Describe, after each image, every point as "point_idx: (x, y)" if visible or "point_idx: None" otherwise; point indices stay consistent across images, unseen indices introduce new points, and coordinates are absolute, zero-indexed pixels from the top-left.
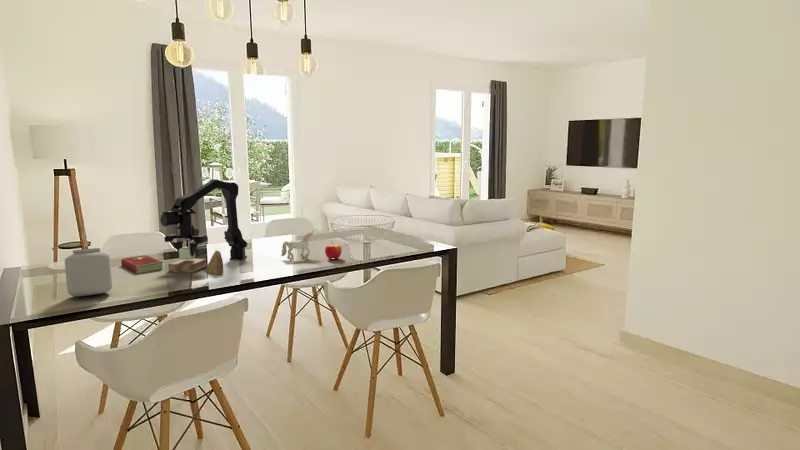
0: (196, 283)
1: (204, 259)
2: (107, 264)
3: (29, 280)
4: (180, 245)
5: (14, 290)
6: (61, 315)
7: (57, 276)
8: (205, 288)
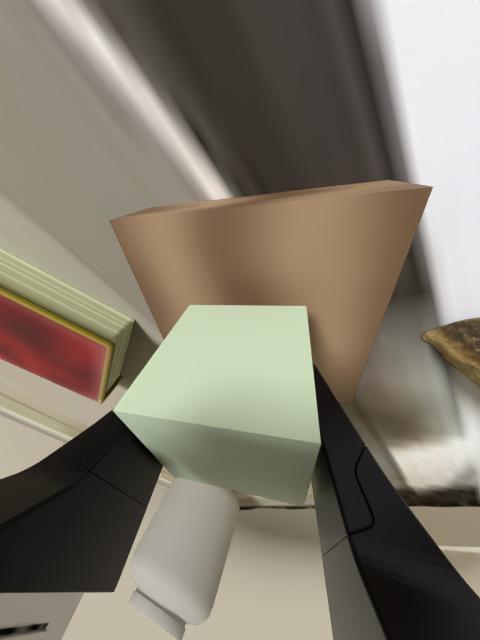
0: (416, 466)
1: (412, 226)
2: (218, 575)
3: (14, 412)
4: (114, 496)
5: None
6: (245, 507)
7: (7, 396)
8: (465, 496)
